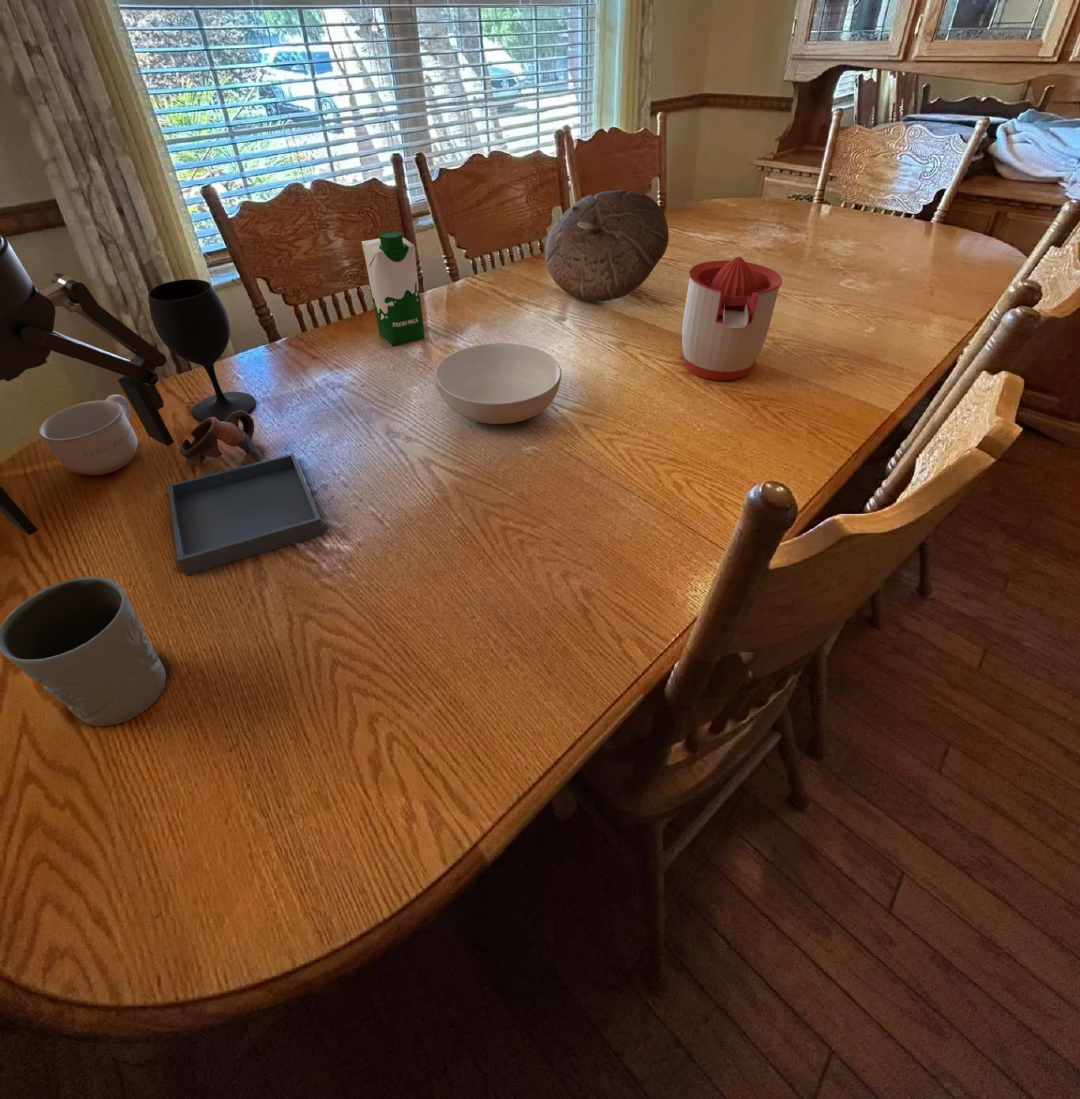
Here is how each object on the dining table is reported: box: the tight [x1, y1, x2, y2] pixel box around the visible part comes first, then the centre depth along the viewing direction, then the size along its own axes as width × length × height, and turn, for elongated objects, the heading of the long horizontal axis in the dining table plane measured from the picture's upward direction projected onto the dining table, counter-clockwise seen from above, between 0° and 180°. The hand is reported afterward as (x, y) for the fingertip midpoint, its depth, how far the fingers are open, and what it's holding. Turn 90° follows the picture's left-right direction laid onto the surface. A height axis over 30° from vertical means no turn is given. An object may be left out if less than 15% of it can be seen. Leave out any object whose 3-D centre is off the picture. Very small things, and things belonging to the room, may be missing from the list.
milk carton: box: [361, 230, 426, 348], centre depth 122 cm, size 9×9×20 cm
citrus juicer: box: [681, 256, 783, 381], centre depth 112 cm, size 16×17×20 cm
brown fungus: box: [544, 189, 670, 303], centre depth 142 cm, size 28×23×25 cm
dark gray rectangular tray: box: [167, 452, 326, 576], centre depth 85 cm, size 17×17×3 cm
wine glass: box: [147, 278, 257, 423], centre depth 101 cm, size 10×10×20 cm
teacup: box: [38, 394, 138, 476], centre depth 94 cm, size 14×11×8 cm
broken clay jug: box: [179, 410, 262, 470], centre depth 95 cm, size 12×10×8 cm
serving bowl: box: [434, 342, 562, 425], centre depth 106 cm, size 21×21×7 cm
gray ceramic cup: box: [0, 575, 167, 727], centre depth 61 cm, size 10×10×12 cm
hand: (97, 480), depth 57 cm, fingers open, 13 cm apart
